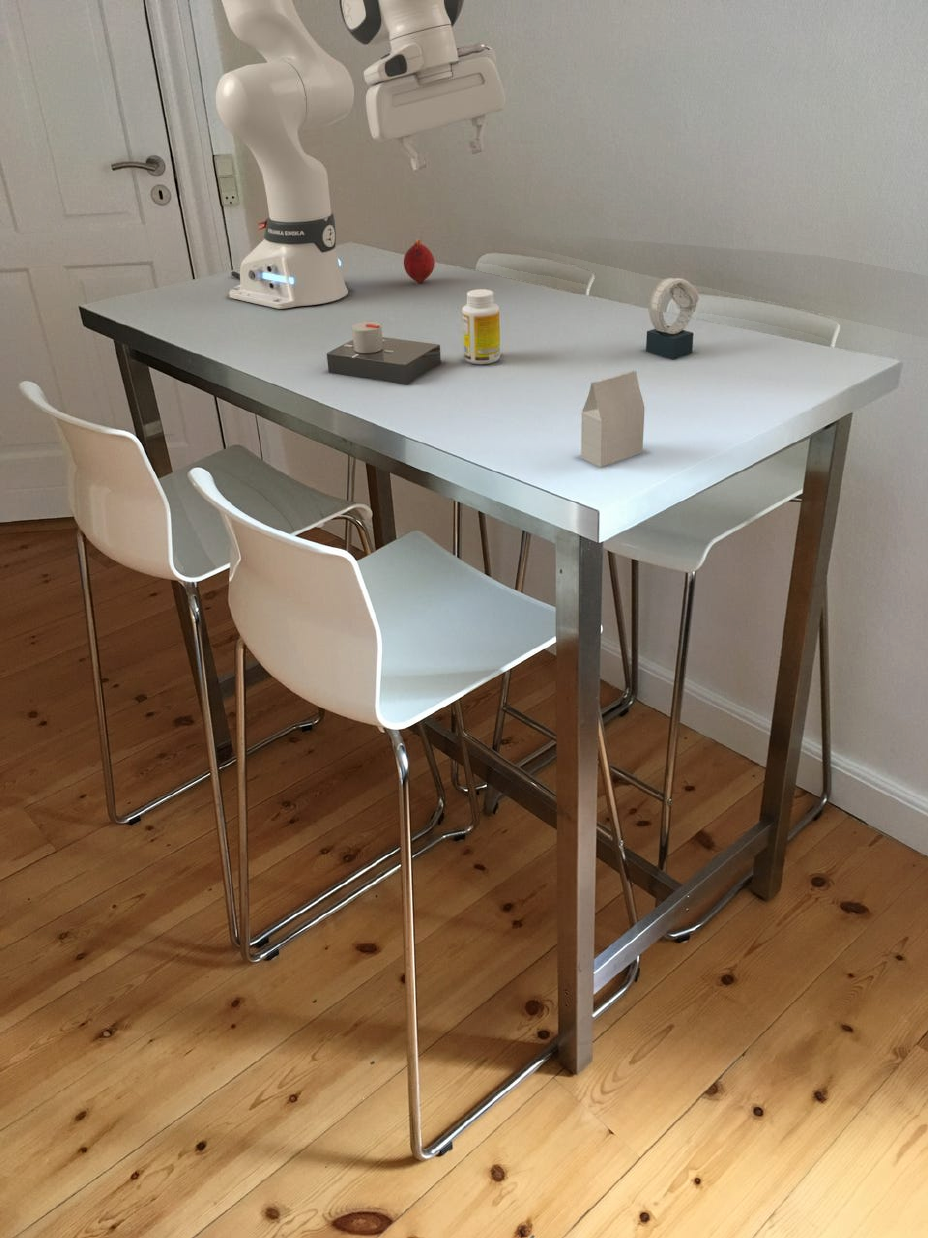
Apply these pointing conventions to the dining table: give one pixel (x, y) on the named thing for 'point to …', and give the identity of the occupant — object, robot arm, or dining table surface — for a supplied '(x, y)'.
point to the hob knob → (367, 337)
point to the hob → (386, 360)
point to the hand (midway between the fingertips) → (449, 160)
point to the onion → (419, 262)
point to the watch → (673, 337)
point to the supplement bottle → (481, 328)
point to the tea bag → (612, 420)
